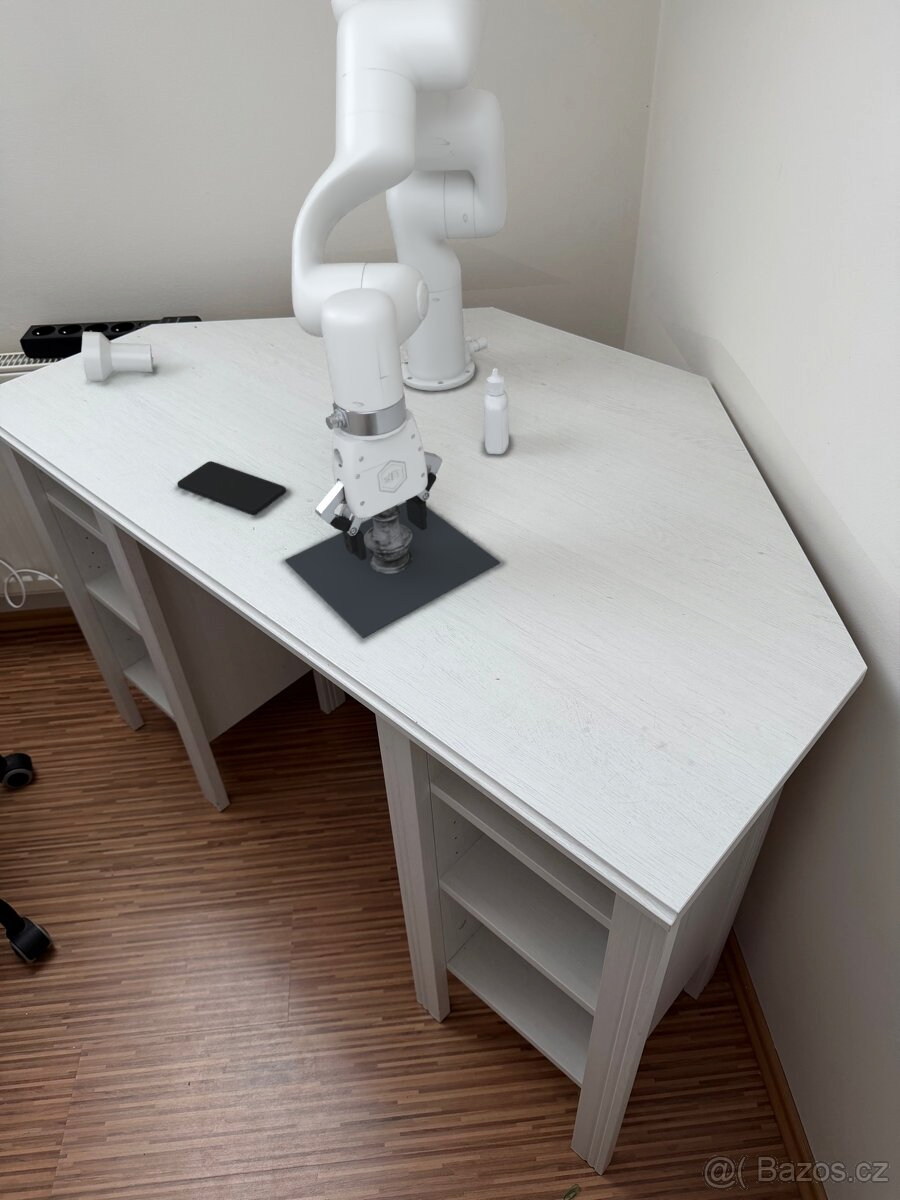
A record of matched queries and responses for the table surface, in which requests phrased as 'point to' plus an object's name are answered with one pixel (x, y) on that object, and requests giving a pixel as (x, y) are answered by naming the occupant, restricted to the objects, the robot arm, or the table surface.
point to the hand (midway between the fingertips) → (388, 538)
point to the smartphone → (232, 487)
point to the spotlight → (113, 356)
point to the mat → (388, 597)
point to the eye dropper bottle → (496, 415)
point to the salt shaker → (389, 542)
